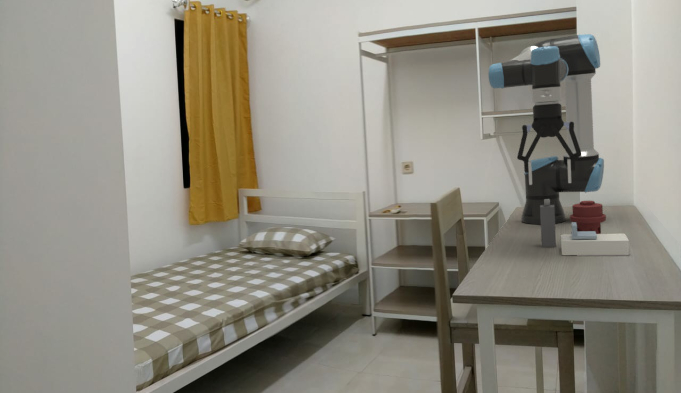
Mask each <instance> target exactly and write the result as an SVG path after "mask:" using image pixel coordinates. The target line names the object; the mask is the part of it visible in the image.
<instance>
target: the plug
mask: <svg viewBox="0 0 681 393" xmlns="http://www.w3.org/2000/svg"><path fill="white" fill-rule="evenodd" d="M540 219H541V224H540V238H541V239H540V240H541V248H556V247H557V239H556V223H555V210H554V205H550V199H544V205H540Z"/></svg>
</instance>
